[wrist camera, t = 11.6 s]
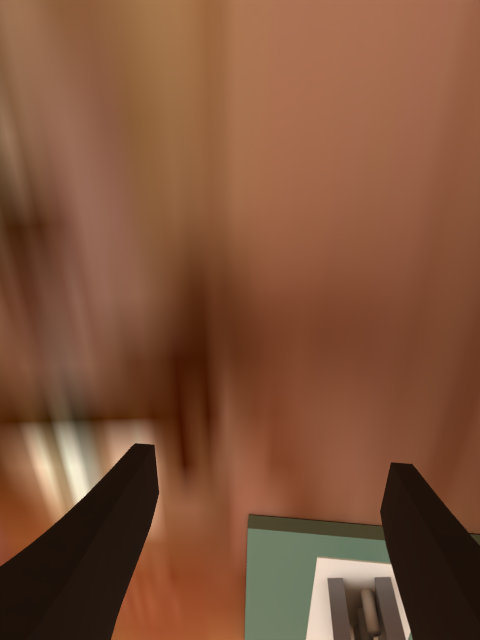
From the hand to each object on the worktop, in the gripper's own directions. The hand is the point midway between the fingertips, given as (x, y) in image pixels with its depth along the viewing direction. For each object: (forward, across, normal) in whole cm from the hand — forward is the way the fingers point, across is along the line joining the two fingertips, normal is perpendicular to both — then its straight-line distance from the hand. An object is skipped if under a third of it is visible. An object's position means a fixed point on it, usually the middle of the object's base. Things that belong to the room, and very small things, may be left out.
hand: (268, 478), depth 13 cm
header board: (+9, -7, +20) cm, 23 cm away
